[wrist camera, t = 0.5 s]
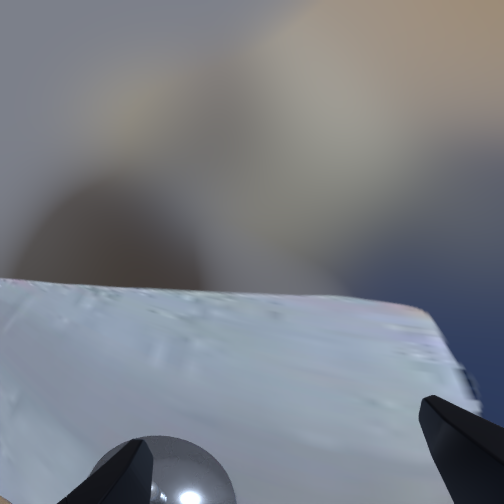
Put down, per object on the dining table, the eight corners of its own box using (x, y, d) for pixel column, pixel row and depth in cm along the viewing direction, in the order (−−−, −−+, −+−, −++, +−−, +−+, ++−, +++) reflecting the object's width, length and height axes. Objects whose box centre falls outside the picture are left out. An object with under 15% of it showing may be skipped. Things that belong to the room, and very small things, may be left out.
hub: (218, 584, 13) (209, 585, 10) (74, 533, 15) (45, 519, 12) (249, 457, 23) (246, 435, 21) (121, 428, 25) (103, 402, 23)
